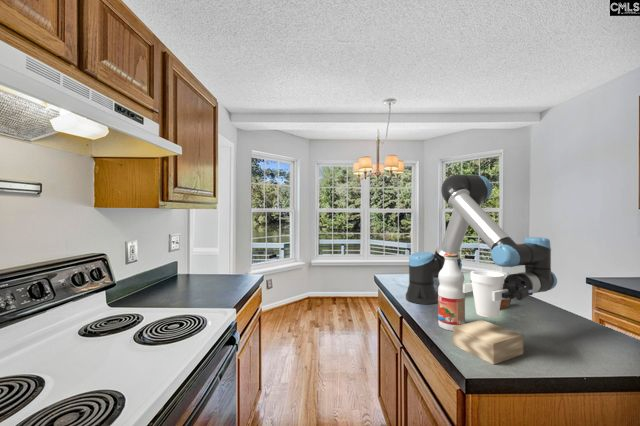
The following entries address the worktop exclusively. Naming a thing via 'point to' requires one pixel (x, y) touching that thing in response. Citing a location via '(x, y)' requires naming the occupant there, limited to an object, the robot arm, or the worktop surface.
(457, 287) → the fruit juice
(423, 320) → the worktop surface
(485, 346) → the maple block
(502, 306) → the tin
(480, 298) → the foam cup
